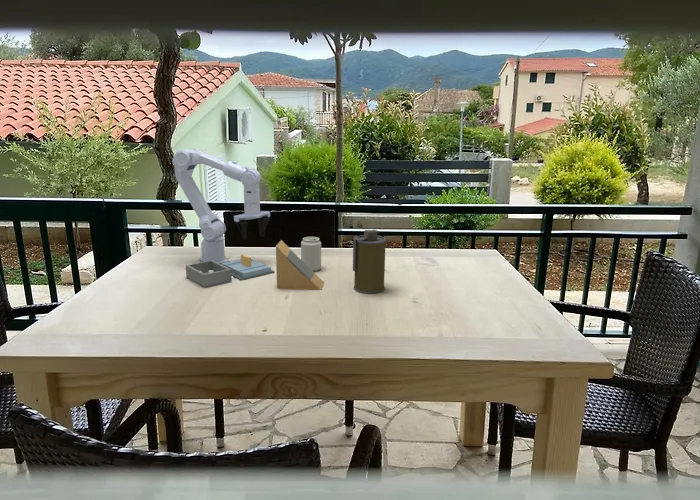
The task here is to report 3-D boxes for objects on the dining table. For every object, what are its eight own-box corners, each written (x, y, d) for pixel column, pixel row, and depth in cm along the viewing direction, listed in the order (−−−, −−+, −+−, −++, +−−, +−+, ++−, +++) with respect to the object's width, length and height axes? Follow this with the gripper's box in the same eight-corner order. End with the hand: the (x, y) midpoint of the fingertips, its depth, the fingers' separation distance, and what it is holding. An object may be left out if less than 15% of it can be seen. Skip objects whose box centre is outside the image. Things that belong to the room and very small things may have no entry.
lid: (222, 267, 192) (221, 254, 191) (248, 262, 199) (248, 248, 198) (243, 278, 181) (243, 263, 180) (271, 271, 188) (270, 257, 187)
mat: (218, 269, 192) (218, 268, 191) (251, 262, 201) (251, 261, 200) (240, 280, 180) (240, 279, 180) (274, 272, 189) (274, 271, 189)
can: (318, 272, 190) (318, 241, 187) (298, 271, 191) (298, 240, 188) (323, 266, 197) (323, 236, 194) (303, 265, 198) (303, 235, 195)
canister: (376, 282, 181) (378, 226, 176) (389, 291, 172) (392, 233, 166) (347, 285, 177) (348, 228, 172) (359, 295, 168) (360, 235, 162)
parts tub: (186, 277, 182) (185, 265, 181) (212, 271, 189) (211, 260, 188) (204, 287, 172) (204, 275, 171) (231, 281, 179) (231, 269, 178)
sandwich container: (322, 290, 172) (322, 247, 168) (276, 289, 173) (275, 245, 169) (325, 282, 180) (325, 240, 176) (281, 280, 181) (280, 239, 177)
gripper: (240, 206, 185) (241, 242, 189) (274, 201, 194) (275, 236, 198) (230, 203, 190) (232, 239, 194) (264, 199, 199) (265, 233, 203)
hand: (253, 237), depth 196 cm, fingers open, 7 cm apart
